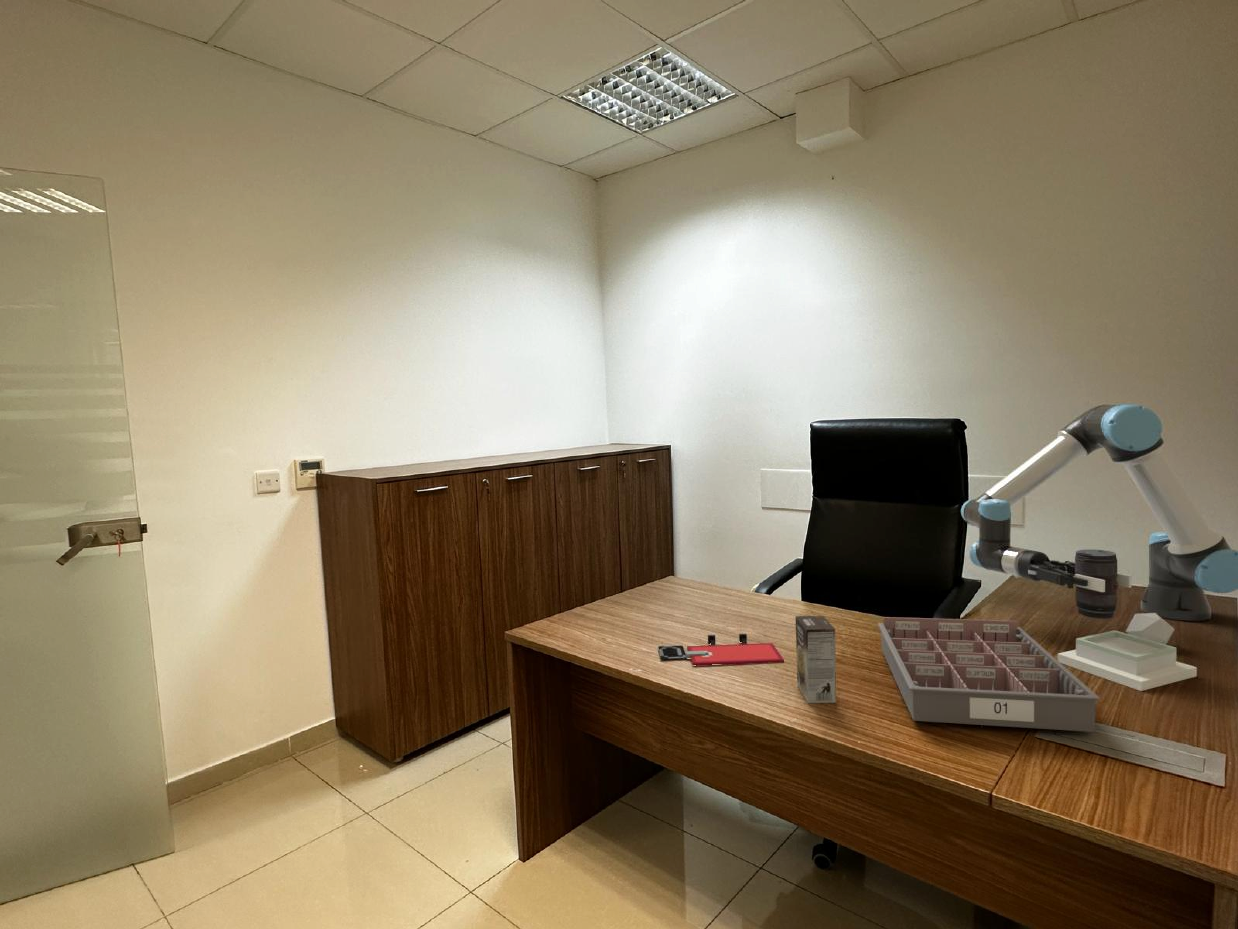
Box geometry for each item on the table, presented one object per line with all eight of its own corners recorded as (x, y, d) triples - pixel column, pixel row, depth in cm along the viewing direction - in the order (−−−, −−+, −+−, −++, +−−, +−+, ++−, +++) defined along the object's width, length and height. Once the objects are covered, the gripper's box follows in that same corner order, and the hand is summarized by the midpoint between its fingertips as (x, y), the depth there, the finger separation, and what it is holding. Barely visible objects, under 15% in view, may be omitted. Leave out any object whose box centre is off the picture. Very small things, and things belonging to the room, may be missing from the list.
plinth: (1110, 649, 159) (1110, 625, 159) (1196, 676, 142) (1197, 649, 142) (1057, 661, 153) (1057, 637, 153) (1140, 691, 136) (1141, 663, 136)
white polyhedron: (1175, 656, 155) (1186, 620, 157) (1139, 638, 156) (1151, 603, 159) (1148, 657, 163) (1159, 622, 165) (1114, 639, 164) (1126, 605, 166)
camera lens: (1091, 607, 159) (1091, 547, 158) (1125, 617, 151) (1126, 553, 150) (1066, 612, 157) (1066, 550, 156) (1099, 621, 149) (1100, 557, 148)
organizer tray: (910, 729, 125) (909, 679, 124) (877, 653, 164) (877, 615, 163) (1101, 742, 117) (1102, 688, 117) (1020, 659, 156) (1020, 619, 155)
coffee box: (796, 686, 146) (794, 615, 145) (825, 685, 146) (823, 614, 145) (806, 704, 137) (804, 629, 136) (837, 703, 137) (836, 628, 136)
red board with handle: (657, 647, 175) (662, 670, 160) (657, 637, 174) (662, 658, 159) (768, 643, 175) (784, 665, 160) (768, 632, 175) (784, 654, 160)
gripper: (1055, 573, 174) (1148, 594, 152) (996, 582, 167) (1084, 606, 146) (1055, 545, 173) (1148, 562, 152) (996, 554, 167) (1084, 573, 145)
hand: (1117, 584), depth 149 cm, fingers closed on camera lens, 8 cm apart
